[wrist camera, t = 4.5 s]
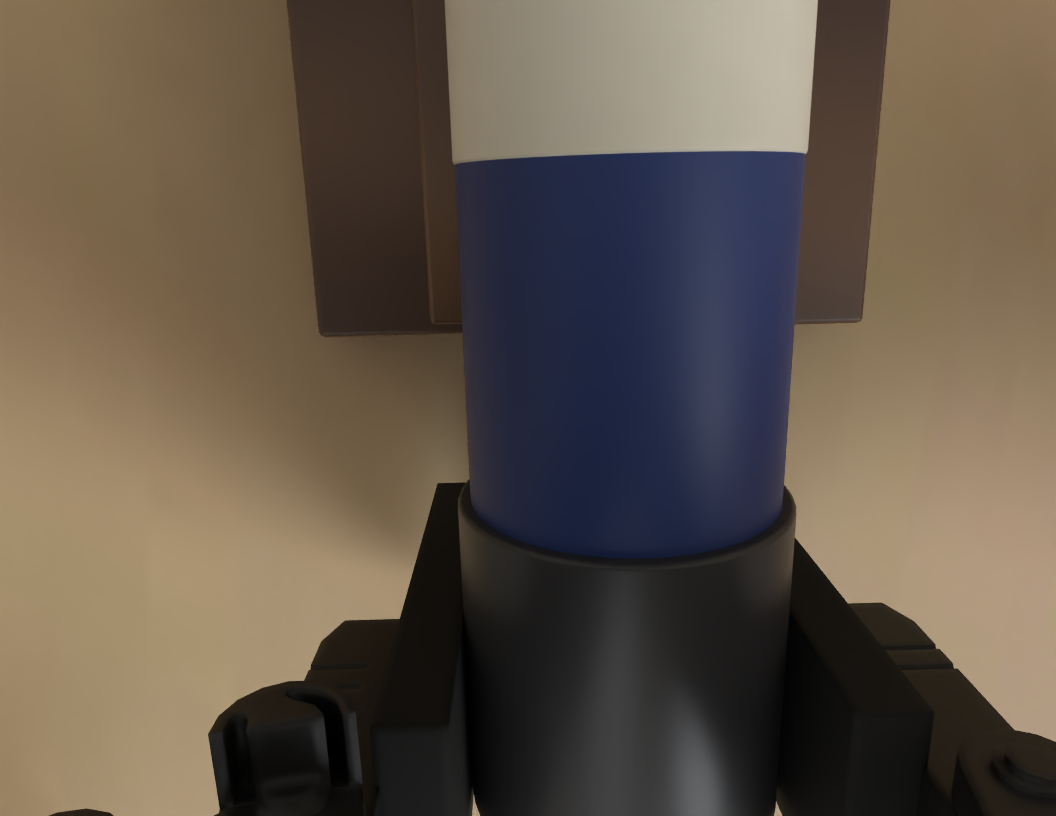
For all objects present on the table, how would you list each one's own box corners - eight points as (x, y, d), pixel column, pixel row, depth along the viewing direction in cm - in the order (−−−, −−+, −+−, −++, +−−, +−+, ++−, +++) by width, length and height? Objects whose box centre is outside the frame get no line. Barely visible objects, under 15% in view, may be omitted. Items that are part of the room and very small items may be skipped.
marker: (729, 680, 12) (823, 898, 8) (479, 687, 12) (462, 909, 8) (791, -564, 8) (1024, -1204, 4) (420, -555, 8) (337, -1193, 4)
